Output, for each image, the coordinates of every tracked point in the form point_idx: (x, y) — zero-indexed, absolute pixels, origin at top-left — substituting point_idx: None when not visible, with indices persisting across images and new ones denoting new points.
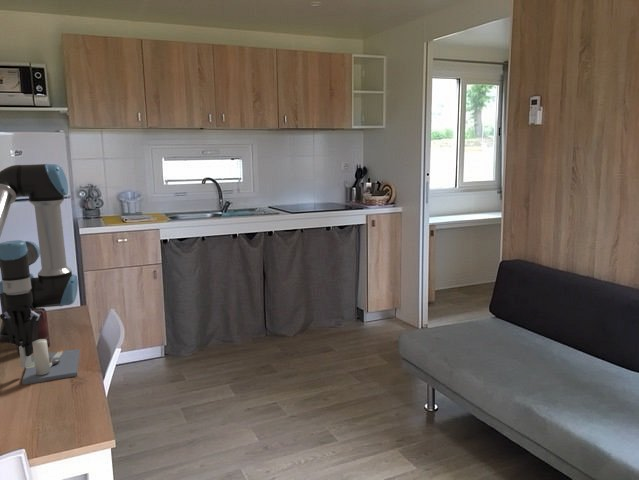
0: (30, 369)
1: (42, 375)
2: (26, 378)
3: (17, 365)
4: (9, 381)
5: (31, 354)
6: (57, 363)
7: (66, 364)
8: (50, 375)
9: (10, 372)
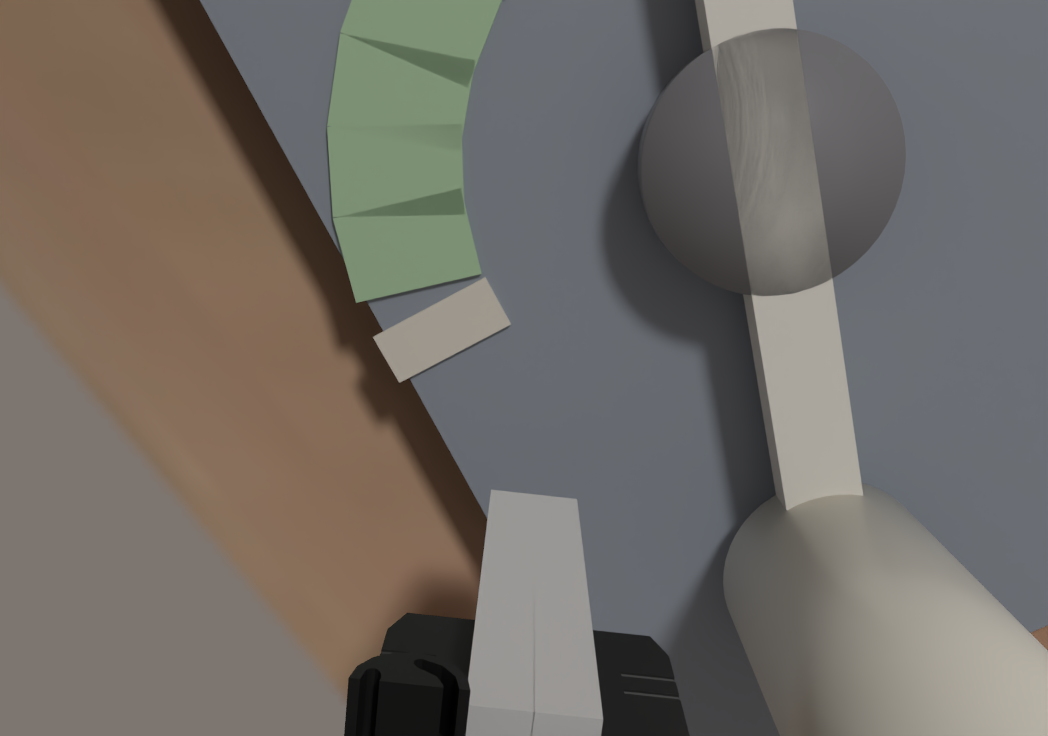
0: (507, 415)
1: None
2: None
3: (61, 97)
4: None
5: (650, 648)
6: None
7: (1026, 189)
8: None
9: (161, 378)
